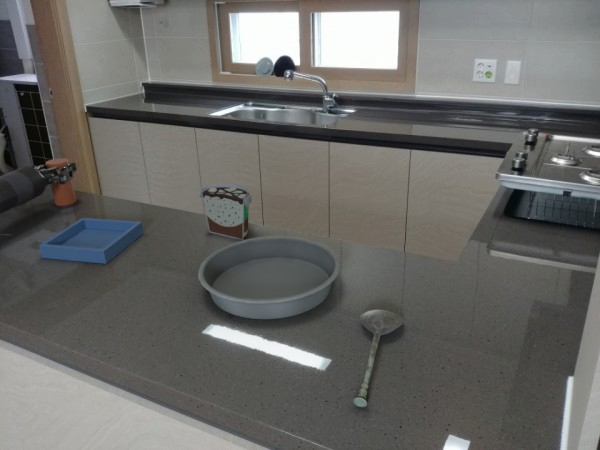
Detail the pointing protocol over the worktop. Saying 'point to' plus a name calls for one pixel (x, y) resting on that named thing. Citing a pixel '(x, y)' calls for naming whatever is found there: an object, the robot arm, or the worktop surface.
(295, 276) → the cake pan
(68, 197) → the orange cylinder
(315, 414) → the worktop surface
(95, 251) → the tray
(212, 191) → the food container
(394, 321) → the soupspoon
